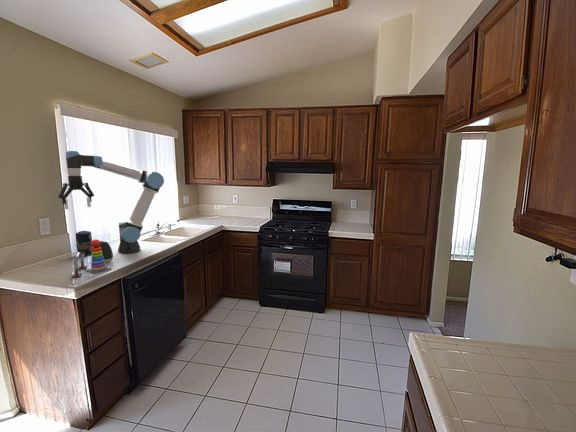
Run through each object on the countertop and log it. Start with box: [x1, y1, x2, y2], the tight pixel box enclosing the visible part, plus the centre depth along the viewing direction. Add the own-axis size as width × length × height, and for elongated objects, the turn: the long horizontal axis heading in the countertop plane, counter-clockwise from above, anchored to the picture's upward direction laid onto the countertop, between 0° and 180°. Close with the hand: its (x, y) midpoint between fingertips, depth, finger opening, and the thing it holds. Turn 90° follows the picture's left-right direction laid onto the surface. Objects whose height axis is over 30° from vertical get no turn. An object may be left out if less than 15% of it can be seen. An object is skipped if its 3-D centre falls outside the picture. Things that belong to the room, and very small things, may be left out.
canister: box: [75, 230, 93, 257], centre depth 212 cm, size 10×10×18 cm
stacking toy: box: [90, 239, 107, 271], centre depth 180 cm, size 8×8×19 cm
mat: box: [84, 266, 112, 275], centre depth 182 cm, size 10×10×1 cm
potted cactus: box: [99, 240, 114, 265], centre depth 196 cm, size 10×10×15 cm
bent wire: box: [71, 251, 88, 279], centre depth 177 cm, size 4×18×13 cm, turn 24°
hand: (78, 208), depth 192 cm, fingers open, 13 cm apart
